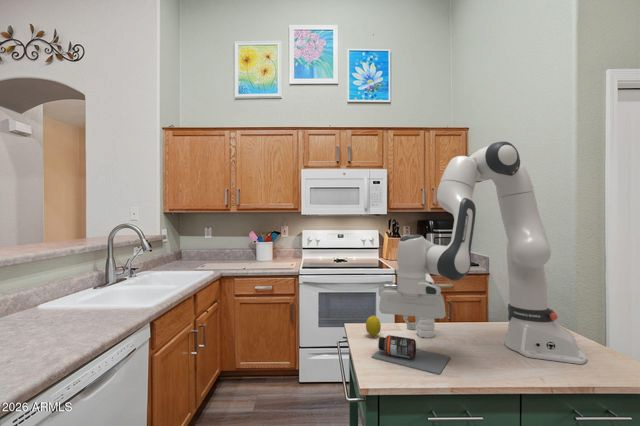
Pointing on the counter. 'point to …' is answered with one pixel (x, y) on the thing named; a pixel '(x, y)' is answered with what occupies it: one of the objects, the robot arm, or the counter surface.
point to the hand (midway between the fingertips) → (411, 329)
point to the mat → (417, 360)
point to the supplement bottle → (398, 346)
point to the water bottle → (426, 321)
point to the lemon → (373, 325)
